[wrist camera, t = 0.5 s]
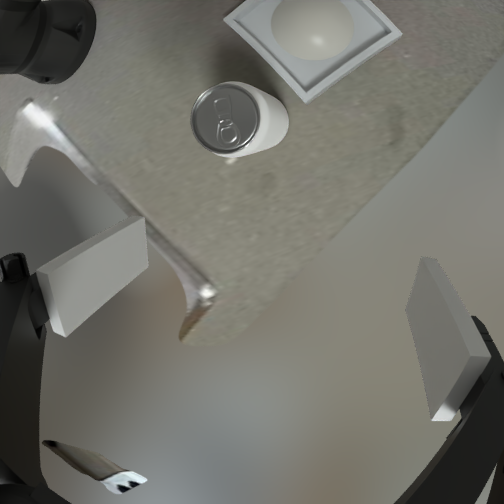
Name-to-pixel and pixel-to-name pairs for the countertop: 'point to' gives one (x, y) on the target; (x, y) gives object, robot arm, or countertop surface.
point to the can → (238, 119)
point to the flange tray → (313, 38)
